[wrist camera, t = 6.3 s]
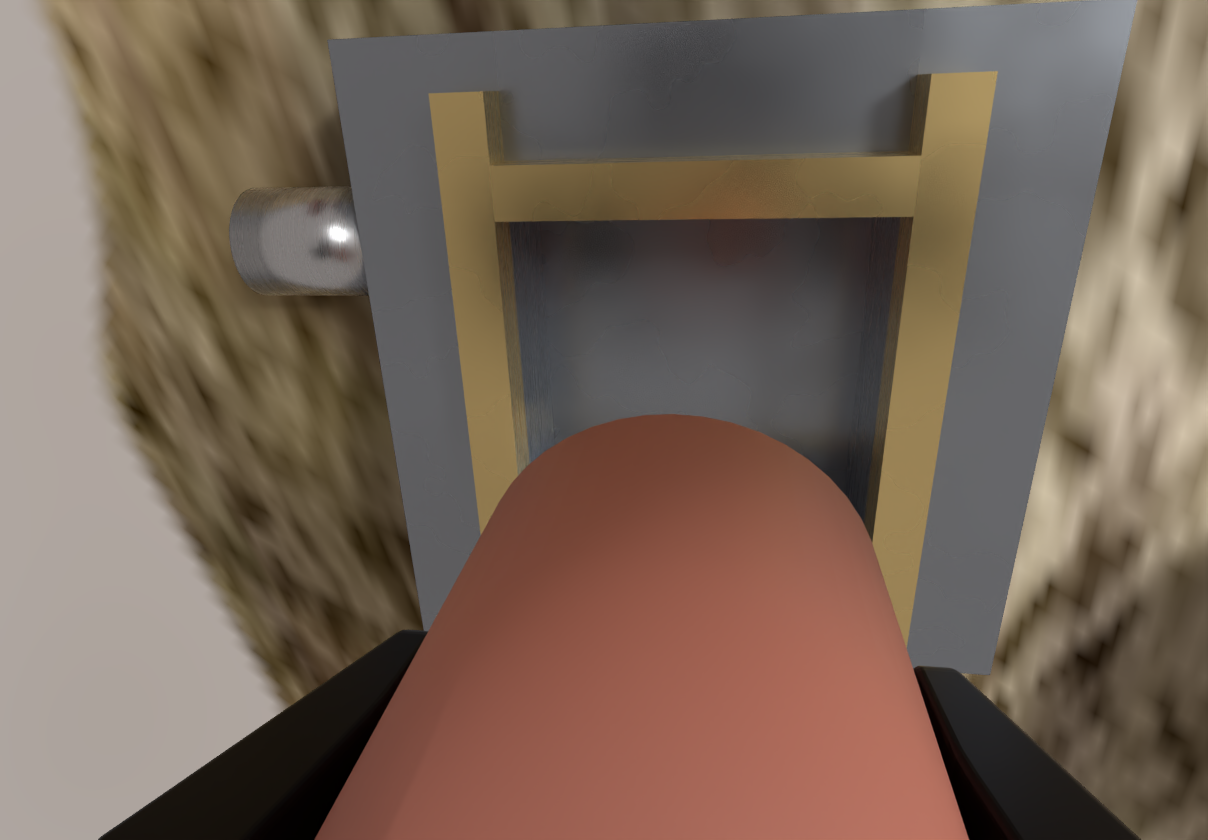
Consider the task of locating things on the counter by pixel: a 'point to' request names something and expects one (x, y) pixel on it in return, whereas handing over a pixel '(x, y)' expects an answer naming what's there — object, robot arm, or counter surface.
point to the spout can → (659, 662)
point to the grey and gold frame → (723, 260)
